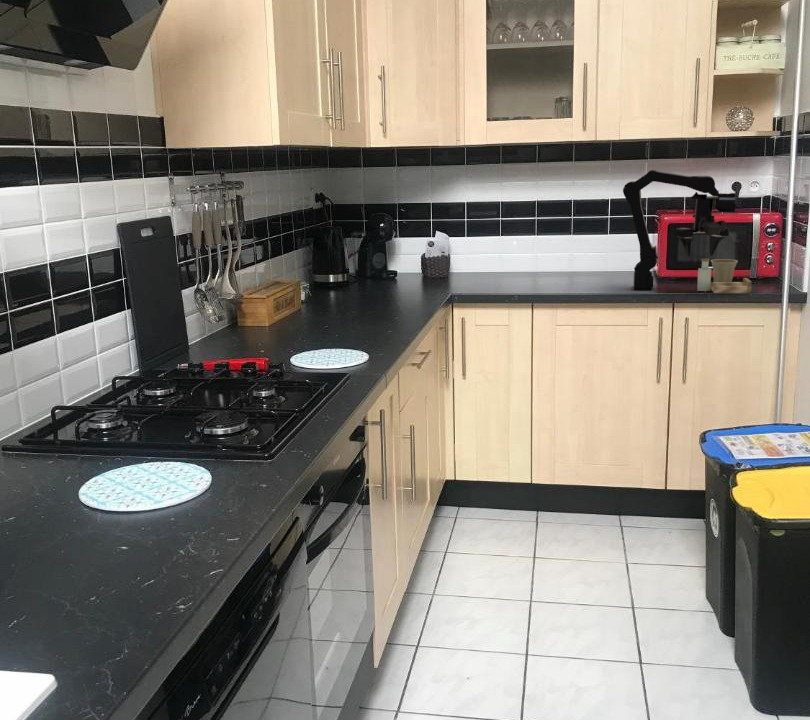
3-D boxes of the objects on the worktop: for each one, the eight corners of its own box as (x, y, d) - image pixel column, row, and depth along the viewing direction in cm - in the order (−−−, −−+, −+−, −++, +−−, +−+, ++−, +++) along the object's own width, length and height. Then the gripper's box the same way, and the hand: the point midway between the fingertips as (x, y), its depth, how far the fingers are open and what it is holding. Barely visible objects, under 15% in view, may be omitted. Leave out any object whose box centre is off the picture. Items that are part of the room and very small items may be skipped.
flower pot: (732, 281, 318) (733, 258, 316) (739, 285, 309) (741, 262, 306) (706, 281, 319) (708, 259, 316) (713, 285, 310) (714, 262, 307)
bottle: (697, 292, 299) (699, 259, 296) (696, 289, 303) (698, 258, 300) (710, 292, 298) (712, 259, 295) (709, 289, 302) (711, 258, 299)
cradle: (714, 293, 296) (714, 281, 295) (710, 288, 304) (711, 277, 303) (750, 293, 293) (751, 281, 292) (746, 288, 301) (746, 277, 300)
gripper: (692, 214, 285) (688, 260, 289) (740, 213, 289) (736, 258, 294) (675, 212, 296) (671, 256, 300) (722, 210, 300) (717, 254, 304)
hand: (699, 256), depth 299 cm, fingers open, 9 cm apart
